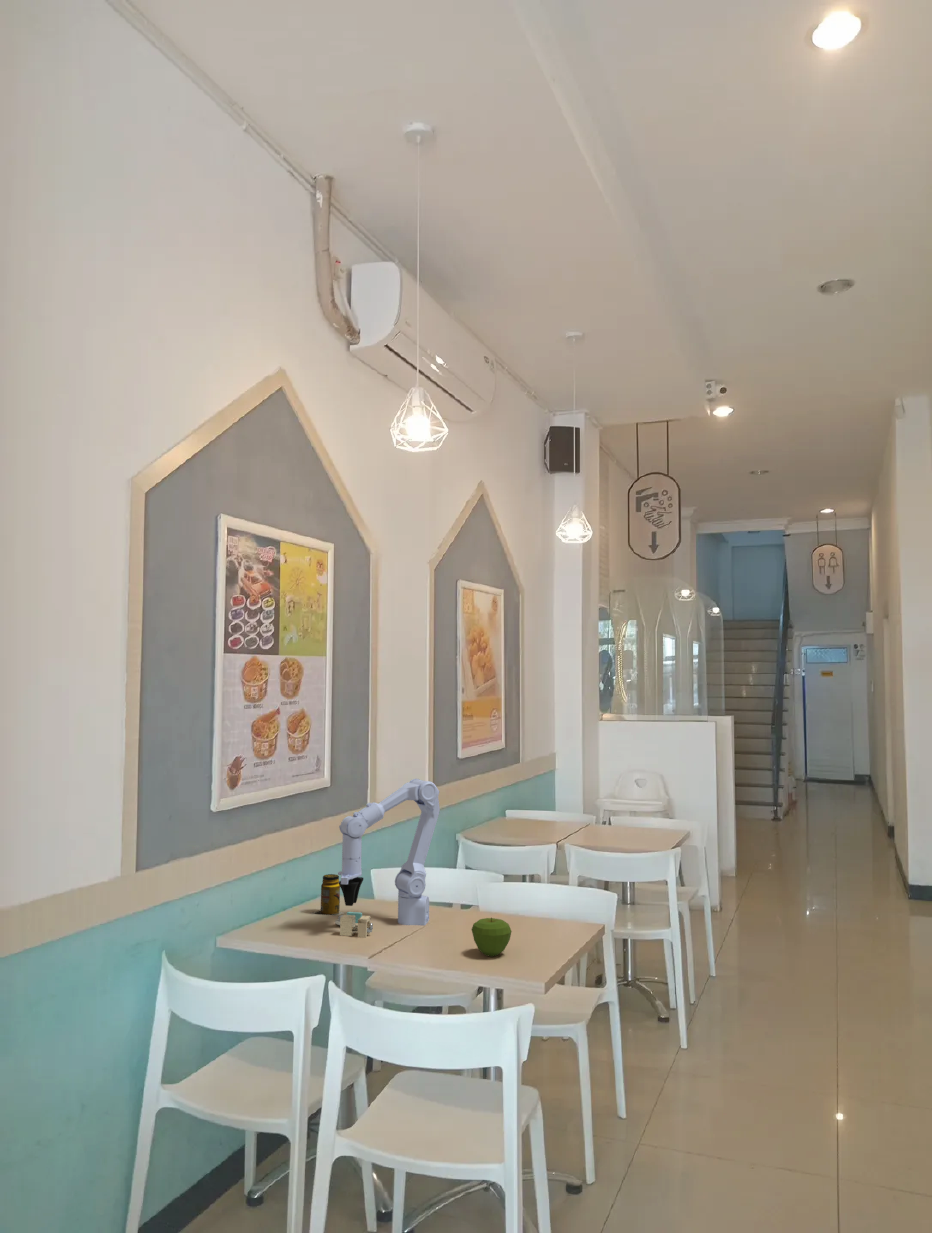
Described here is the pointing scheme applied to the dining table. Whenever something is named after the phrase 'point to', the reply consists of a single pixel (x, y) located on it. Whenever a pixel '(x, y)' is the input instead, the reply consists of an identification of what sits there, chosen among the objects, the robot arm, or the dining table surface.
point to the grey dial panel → (363, 926)
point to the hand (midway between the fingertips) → (350, 904)
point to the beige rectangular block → (350, 925)
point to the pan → (357, 914)
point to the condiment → (330, 896)
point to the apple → (491, 935)
